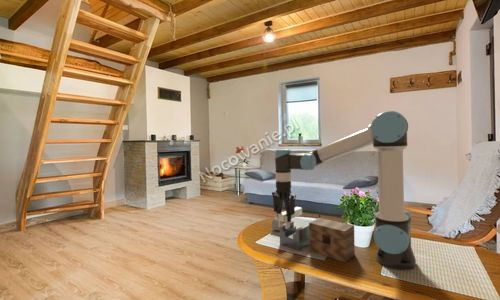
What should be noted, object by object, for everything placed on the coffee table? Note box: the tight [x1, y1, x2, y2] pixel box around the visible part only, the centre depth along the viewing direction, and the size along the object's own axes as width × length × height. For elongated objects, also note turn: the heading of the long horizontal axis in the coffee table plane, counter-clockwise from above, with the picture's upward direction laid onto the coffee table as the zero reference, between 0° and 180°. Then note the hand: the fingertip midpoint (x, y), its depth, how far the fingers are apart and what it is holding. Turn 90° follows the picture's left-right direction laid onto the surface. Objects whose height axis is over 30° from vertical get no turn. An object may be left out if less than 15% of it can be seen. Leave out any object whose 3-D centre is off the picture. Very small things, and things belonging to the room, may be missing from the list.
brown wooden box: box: [308, 217, 355, 263], centre depth 124 cm, size 18×10×14 cm, turn 46°
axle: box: [277, 206, 303, 222], centre depth 132 cm, size 4×16×4 cm, turn 136°
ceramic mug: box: [271, 216, 285, 232], centre depth 156 cm, size 11×8×8 cm
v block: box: [279, 220, 310, 251], centre depth 135 cm, size 12×10×10 cm
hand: (284, 227), depth 129 cm, fingers closed on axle, 3 cm apart
